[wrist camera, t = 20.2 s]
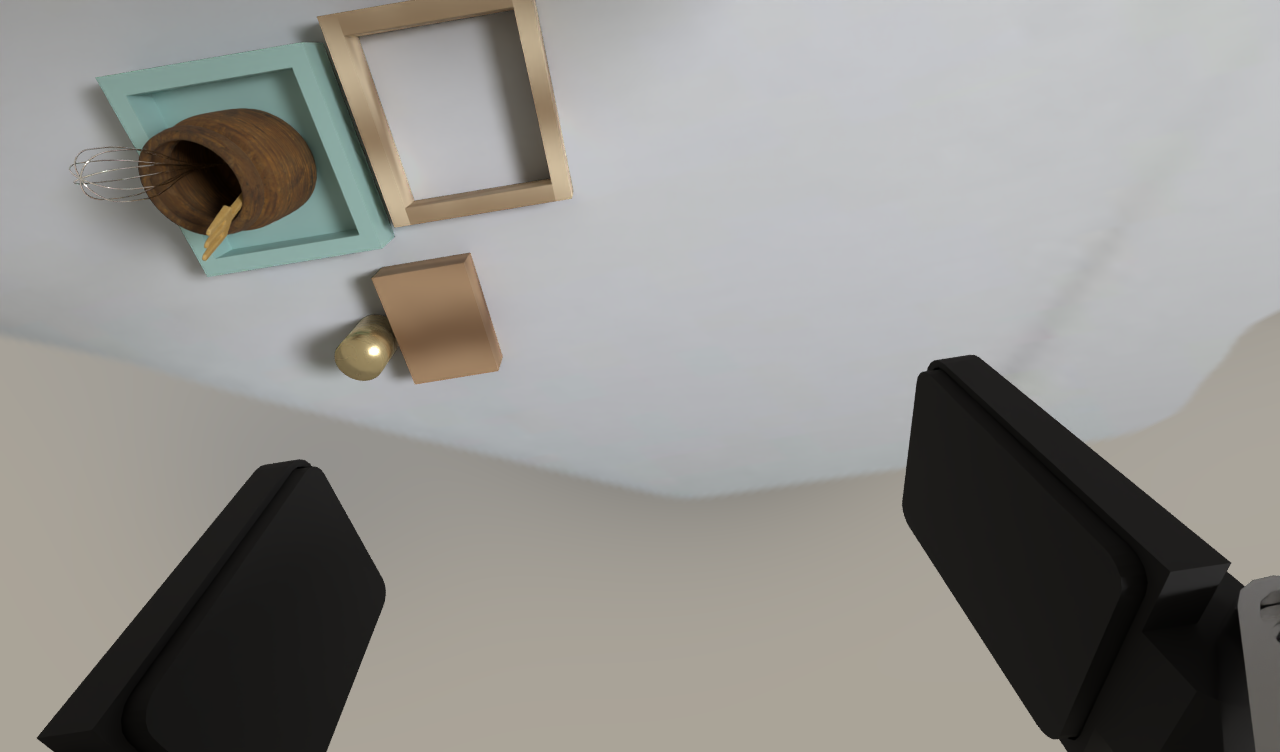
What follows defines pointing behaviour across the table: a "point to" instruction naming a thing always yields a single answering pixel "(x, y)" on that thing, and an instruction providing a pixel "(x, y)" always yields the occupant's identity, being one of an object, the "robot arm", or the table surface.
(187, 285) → the table surface
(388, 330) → the cylinder
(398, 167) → the wooden square frame
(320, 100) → the tray
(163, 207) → the utensil holder
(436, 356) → the board
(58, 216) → the table surface
